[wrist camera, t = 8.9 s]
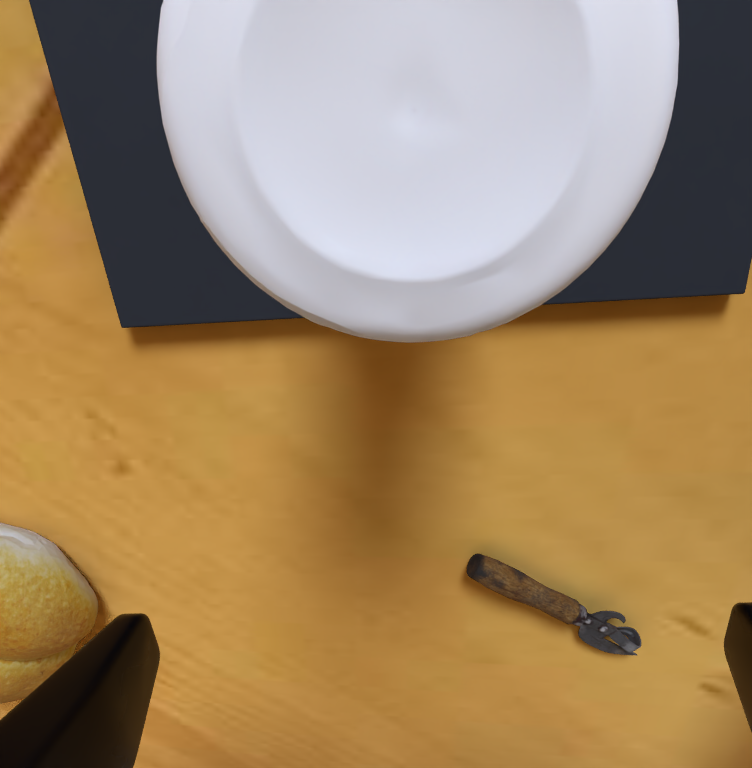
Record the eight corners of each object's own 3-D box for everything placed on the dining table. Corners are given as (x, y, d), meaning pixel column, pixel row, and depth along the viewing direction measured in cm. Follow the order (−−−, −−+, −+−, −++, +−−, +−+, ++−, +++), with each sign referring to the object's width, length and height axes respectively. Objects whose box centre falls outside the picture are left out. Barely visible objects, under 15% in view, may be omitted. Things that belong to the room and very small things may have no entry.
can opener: (462, 561, 26) (464, 582, 25) (500, 526, 25) (504, 546, 24) (618, 657, 28) (626, 680, 27) (659, 628, 27) (669, 651, 26)
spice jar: (386, 188, 19) (340, 431, 7) (295, 41, 17) (20, 20, 5) (528, 96, 17) (778, 196, 5) (443, -74, 16) (537, -464, 4)
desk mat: (734, 286, 20) (745, 294, 20) (130, 319, 22) (120, 328, 21) (849, -327, 14) (873, -348, 13) (-17, -216, 16) (-37, -228, 15)
